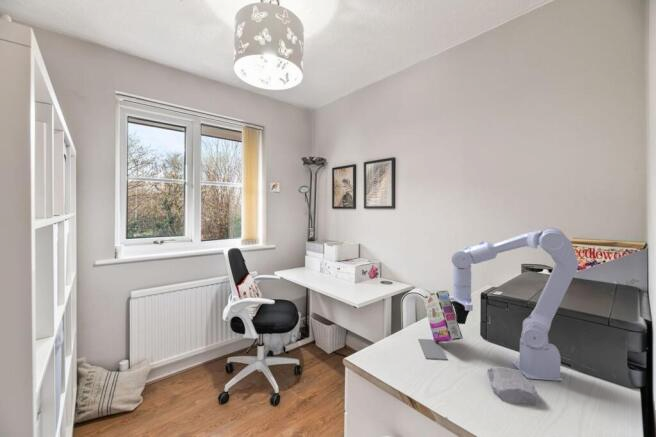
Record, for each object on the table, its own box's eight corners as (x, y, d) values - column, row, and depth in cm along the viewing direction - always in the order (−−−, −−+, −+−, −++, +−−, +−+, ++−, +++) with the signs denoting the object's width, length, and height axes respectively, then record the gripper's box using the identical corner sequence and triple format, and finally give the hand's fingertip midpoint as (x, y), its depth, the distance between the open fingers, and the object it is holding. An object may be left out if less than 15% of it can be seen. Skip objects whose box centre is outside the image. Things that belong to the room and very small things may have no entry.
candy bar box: (464, 338, 93) (448, 290, 100) (451, 341, 92) (436, 291, 99) (446, 340, 103) (432, 296, 110) (434, 342, 102) (421, 297, 109)
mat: (437, 340, 104) (437, 339, 104) (447, 360, 91) (447, 359, 91) (418, 339, 105) (418, 338, 105) (425, 358, 92) (425, 357, 92)
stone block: (500, 409, 72) (543, 407, 70) (496, 391, 72) (539, 388, 70) (483, 382, 83) (520, 379, 81) (480, 366, 83) (516, 363, 81)
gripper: (443, 278, 103) (443, 314, 104) (456, 290, 89) (455, 332, 89) (463, 279, 102) (463, 315, 103) (479, 291, 88) (478, 333, 88)
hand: (461, 323), depth 96 cm, fingers closed
